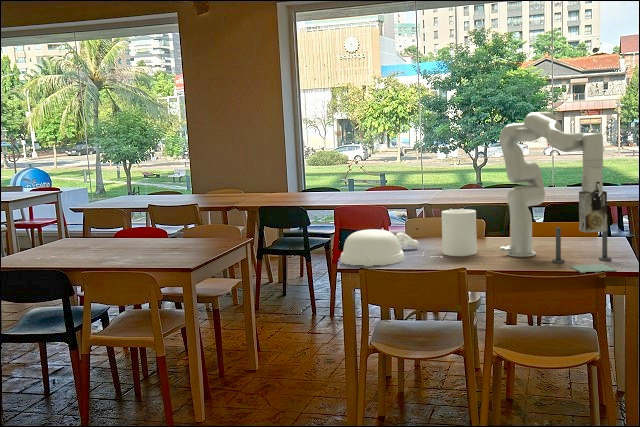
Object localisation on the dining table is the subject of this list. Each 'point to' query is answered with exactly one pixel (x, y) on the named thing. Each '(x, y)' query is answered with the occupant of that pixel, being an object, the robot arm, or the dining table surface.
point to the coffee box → (592, 213)
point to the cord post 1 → (558, 247)
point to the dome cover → (372, 248)
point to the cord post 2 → (604, 247)
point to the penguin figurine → (406, 241)
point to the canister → (459, 232)
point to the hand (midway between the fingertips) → (592, 208)
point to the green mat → (592, 268)
